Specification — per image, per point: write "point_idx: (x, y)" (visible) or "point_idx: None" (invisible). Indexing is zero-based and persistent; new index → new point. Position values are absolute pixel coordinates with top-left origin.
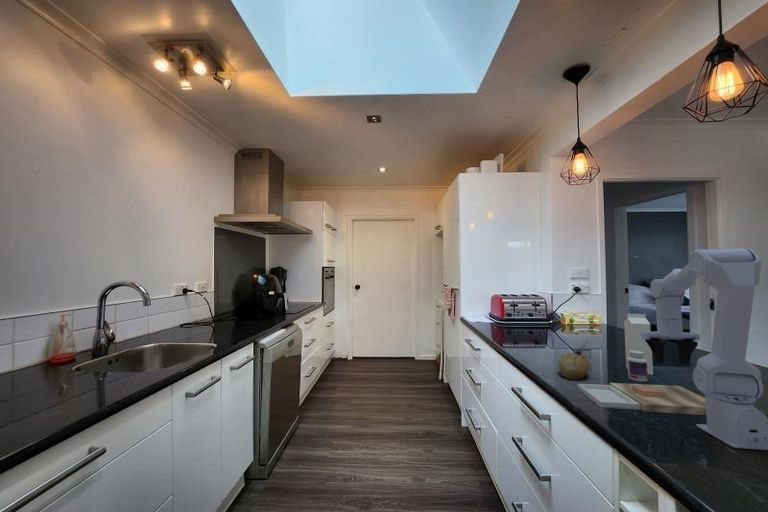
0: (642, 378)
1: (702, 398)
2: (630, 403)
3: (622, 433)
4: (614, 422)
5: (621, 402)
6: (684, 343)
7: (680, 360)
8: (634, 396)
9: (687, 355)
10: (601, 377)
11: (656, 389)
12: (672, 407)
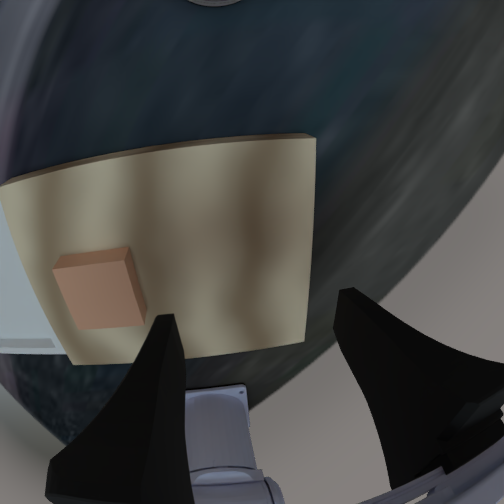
0: (215, 2)
1: (295, 282)
2: (45, 353)
3: (40, 415)
4: (26, 391)
5: (27, 350)
6: (405, 456)
7: (346, 303)
8: (57, 318)
9: (363, 388)
10: (35, 7)
11: (130, 305)
12: None
